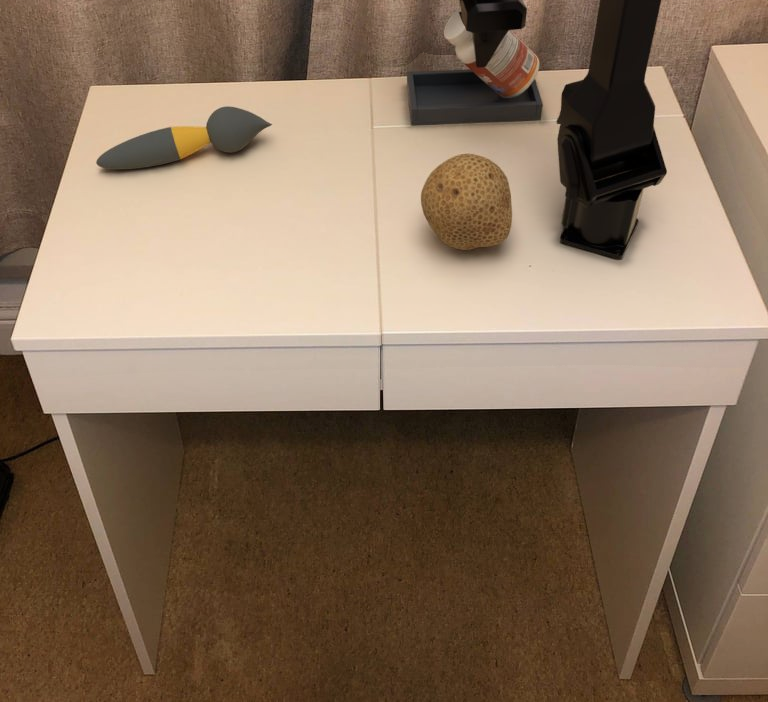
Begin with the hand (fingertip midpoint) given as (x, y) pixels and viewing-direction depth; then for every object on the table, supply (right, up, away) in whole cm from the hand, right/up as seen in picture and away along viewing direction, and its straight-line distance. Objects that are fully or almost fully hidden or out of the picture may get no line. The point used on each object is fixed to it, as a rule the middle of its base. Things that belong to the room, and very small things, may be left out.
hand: (475, 52), depth 101 cm
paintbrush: (-33, -13, -1) cm, 35 cm away
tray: (0, -4, +5) cm, 7 cm away
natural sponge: (-2, -24, -12) cm, 26 cm away
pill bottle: (+6, -2, +3) cm, 7 cm away
